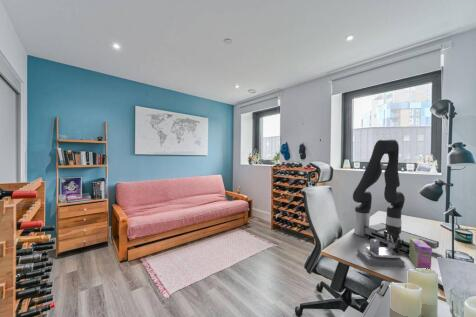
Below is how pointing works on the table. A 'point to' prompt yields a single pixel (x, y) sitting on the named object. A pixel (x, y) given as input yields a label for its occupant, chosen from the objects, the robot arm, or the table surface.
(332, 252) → the table surface
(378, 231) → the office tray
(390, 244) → the spacer
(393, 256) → the scale pan
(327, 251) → the table surface
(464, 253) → the table surface
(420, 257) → the box
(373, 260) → the scale base
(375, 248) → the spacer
